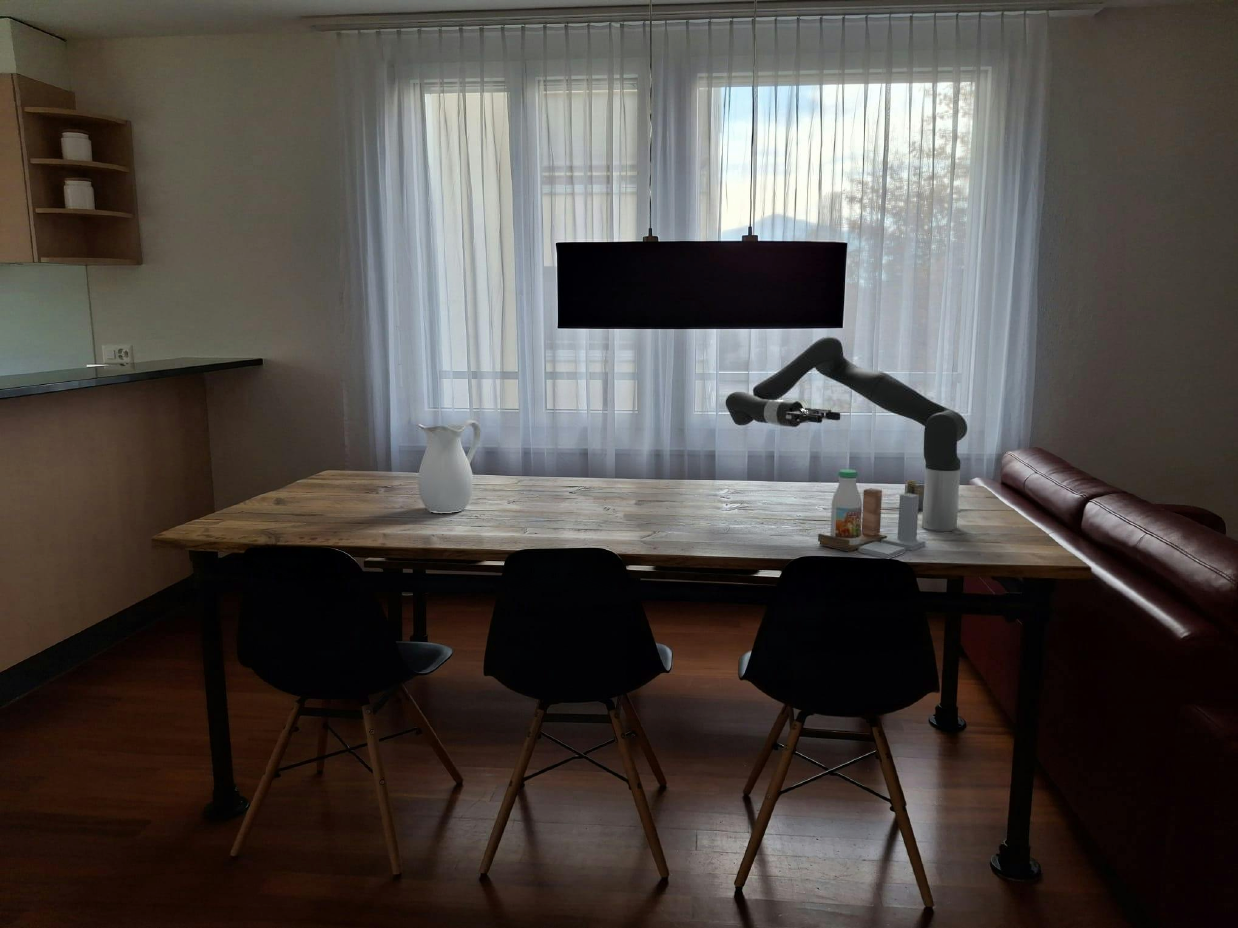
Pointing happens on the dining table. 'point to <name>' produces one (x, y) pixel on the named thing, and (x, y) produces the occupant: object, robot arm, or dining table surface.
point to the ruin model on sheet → (915, 490)
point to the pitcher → (447, 467)
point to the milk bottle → (847, 508)
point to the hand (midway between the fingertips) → (830, 417)
